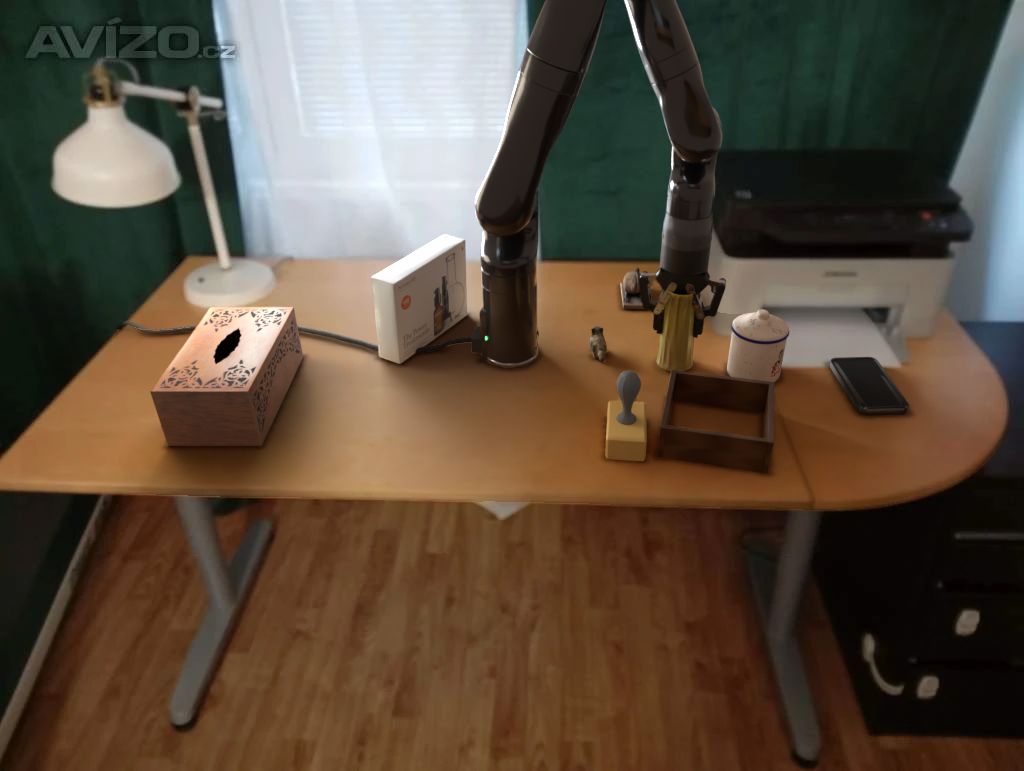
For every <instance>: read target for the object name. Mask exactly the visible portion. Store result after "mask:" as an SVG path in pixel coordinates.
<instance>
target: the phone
mask: <svg viewBox="0 0 1024 771" xmlns="http://www.w3.org/2000/svg"><path fill="white" fill-rule="evenodd" d="M829 368H830V369H831V370H830V371H832V373H833V375H834V376H835V378H836V379H837V381H838V383H839V384H840V386H841V388H842V390H844V392H845V394H846V396H847V397H848V399H849V400H850V402H851V403H852V405H853V407H854V408H855V410H856V411H857V413H859V414H860V415H865V416H872V415H873V416H874V415H875V416H877V415H905V414H907V413H908V411H909V408H910V404H909V402H908V400H907V399H906V398H905V396H904V395H903V393H902V392H901V391H900V389H899V388H898V386H897V385H896V383H894V381H893V380H892V378H891V377H890V375H889V374H888V373H887V371H886V370H885V368H884V367H883V366H882V365H881V363H880V361H879V360H878V359H877V358H876V357H872V356H849V357H847V356H846V357H845V356H844V357H832V358H831V359H830V361H829Z"/></svg>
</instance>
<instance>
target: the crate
mask: <svg viewBox="0 0 1024 771" xmlns="http://www.w3.org/2000/svg"><path fill="white" fill-rule="evenodd" d="M775 384H776V381H775V382H769V381H760V380H752V379H744V378H735V377H731V376H726V375H717V374H709V373H701V372H695V371H693V372H692V371H676V370H671V371H670V375H669V381H668V385H667V391H666V395H665V400H664V406H663V411H662V415H661V420H660V424H659V431H658V443H657V454H656V458H659V459H667V460H673V461H680V462H687V463H694V464H700V465H706V466H714V467H721V468H729V469H734V470H741V471H742V470H743V471H750V472H755V473H762V474H769V471H770V466H771V465H770V464H771V460H772V455H773V450H774V444H775V386H776V385H775ZM674 403H680V404H689V405H690V404H691V405H698V406H704V407H711V408H712V407H713V408H720V409H729V410H737V411H744V412H752V413H759V414H763V431H762V432H763V433H762V437H757V436H750V435H744V434H735V433H729V432H720V431H713V430H705V429H699V428H691V427H686V426H685V427H684V426H677V425H669V424H670V421H671V417H672V416H671V415H672V410H673V405H674Z"/></svg>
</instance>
